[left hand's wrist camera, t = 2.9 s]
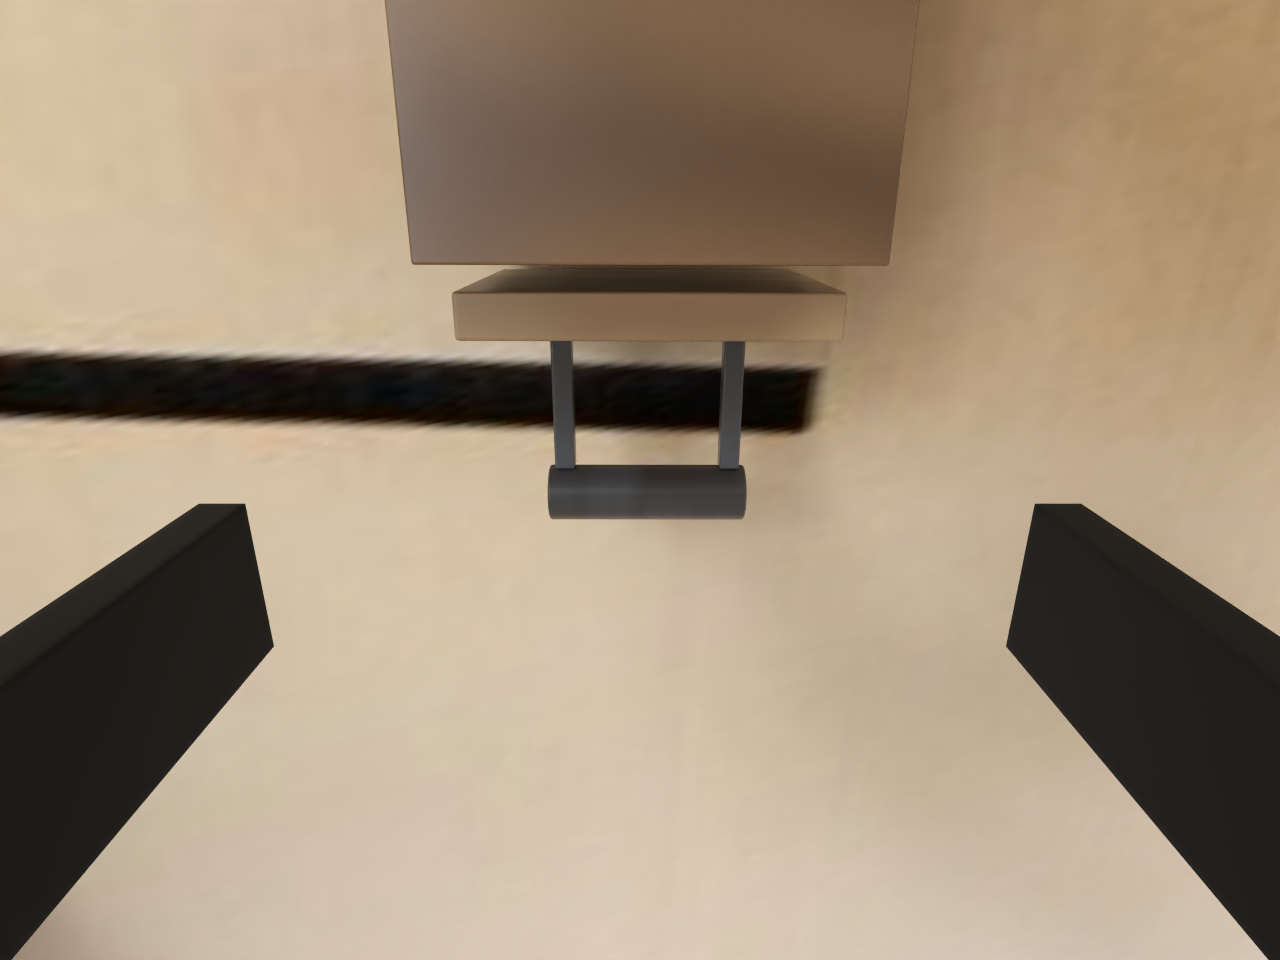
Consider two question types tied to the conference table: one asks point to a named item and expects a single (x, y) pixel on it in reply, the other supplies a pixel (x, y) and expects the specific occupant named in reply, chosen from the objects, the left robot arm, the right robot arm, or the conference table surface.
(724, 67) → the cabinet
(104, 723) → the left robot arm
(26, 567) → the conference table surface
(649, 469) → the drawer
